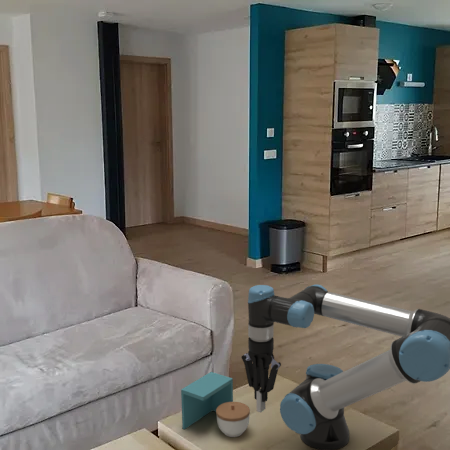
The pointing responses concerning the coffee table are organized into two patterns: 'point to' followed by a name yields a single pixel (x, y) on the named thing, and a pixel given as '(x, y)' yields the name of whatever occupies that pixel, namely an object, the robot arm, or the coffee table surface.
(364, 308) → the robot arm
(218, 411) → the lidded jar
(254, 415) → the coffee table surface
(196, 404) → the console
